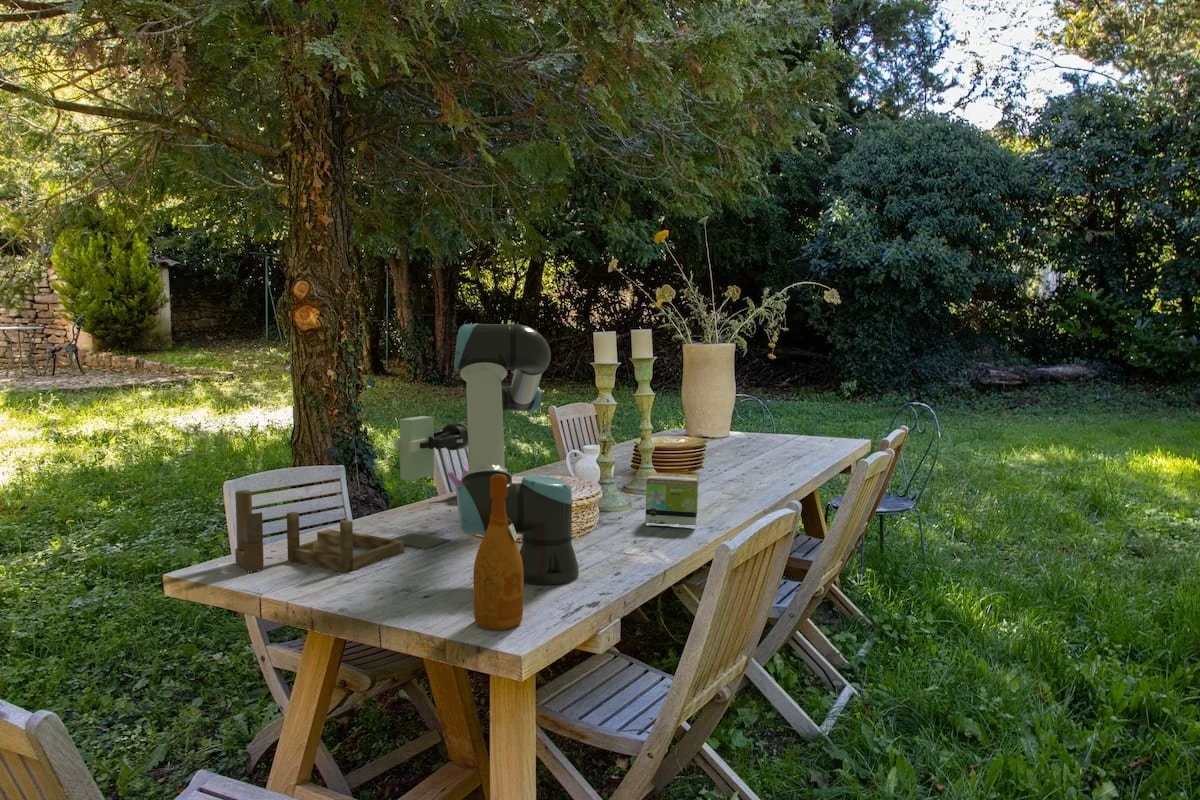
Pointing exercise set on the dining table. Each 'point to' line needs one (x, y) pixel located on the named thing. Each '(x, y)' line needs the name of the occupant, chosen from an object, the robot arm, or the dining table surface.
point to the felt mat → (420, 540)
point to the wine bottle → (498, 567)
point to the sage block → (419, 461)
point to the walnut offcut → (329, 537)
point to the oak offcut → (327, 549)
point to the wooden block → (248, 533)
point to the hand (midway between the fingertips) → (403, 446)
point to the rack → (348, 539)
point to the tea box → (671, 499)
